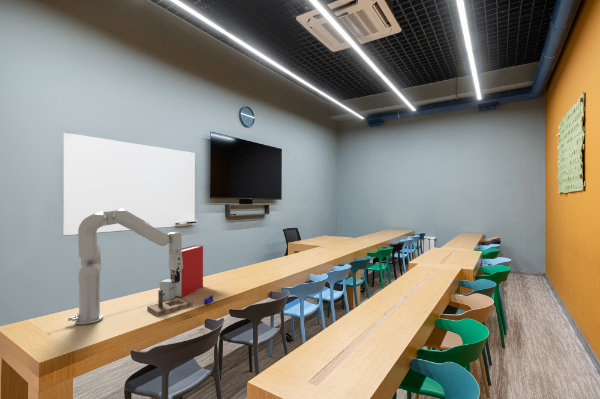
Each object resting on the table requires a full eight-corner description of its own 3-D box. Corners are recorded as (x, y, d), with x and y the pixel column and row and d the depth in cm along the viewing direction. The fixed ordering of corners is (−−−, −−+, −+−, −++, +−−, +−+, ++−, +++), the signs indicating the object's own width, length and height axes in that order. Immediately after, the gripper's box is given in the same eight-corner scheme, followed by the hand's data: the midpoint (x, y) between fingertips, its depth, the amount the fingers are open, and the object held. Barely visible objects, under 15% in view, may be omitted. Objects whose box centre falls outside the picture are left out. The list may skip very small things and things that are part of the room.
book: (181, 297, 206) (182, 251, 206) (171, 296, 208) (172, 250, 208) (204, 286, 233) (204, 245, 233) (194, 285, 235) (195, 245, 235)
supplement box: (169, 301, 200) (169, 282, 200) (159, 300, 201) (159, 281, 201) (175, 297, 207) (175, 279, 207) (166, 296, 208) (166, 278, 208)
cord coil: (180, 282, 189) (180, 269, 189) (173, 283, 185) (173, 271, 185) (177, 281, 192) (177, 268, 192) (169, 282, 188) (169, 269, 188)
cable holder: (208, 300, 201) (208, 294, 201) (213, 301, 200) (213, 295, 200) (202, 304, 193) (202, 298, 193) (207, 305, 192) (207, 299, 192)
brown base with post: (156, 316, 173) (157, 294, 173) (147, 310, 183) (147, 289, 183) (192, 306, 190) (192, 286, 190) (181, 301, 199) (181, 282, 199)
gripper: (187, 252, 186) (187, 281, 186) (174, 249, 197) (174, 277, 197) (175, 254, 180) (175, 284, 180) (163, 251, 191) (163, 279, 191)
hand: (175, 280), depth 188 cm, fingers closed on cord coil, 4 cm apart
